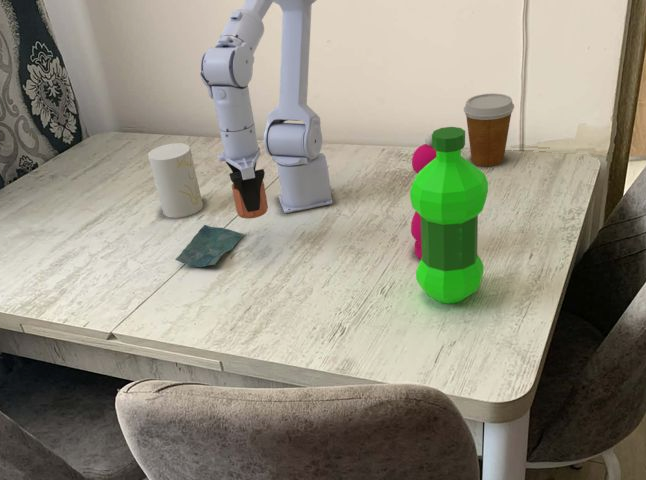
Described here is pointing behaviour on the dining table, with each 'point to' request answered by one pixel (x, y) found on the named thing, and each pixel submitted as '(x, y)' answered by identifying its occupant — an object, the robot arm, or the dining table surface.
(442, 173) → the plastic bottle
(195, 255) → the terrain model
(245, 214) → the faceted terracotta tumbler
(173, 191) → the white cylinder
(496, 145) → the disposable coffee cup
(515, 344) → the dining table surface
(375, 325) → the dining table surface
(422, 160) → the pepper mill
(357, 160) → the dining table surface
